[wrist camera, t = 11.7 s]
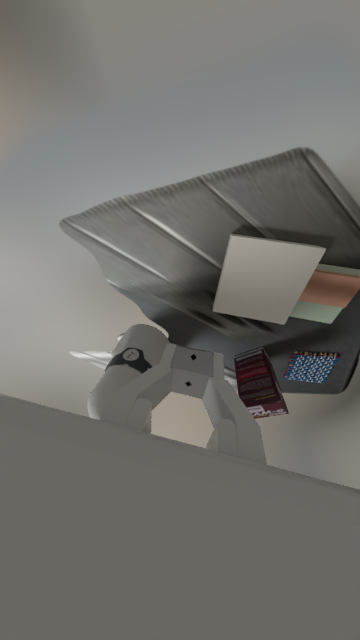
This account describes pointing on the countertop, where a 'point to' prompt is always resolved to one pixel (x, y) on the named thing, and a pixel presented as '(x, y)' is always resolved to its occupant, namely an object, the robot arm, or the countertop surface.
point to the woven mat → (310, 366)
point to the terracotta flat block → (330, 288)
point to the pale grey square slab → (264, 277)
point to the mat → (319, 310)
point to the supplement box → (258, 384)
